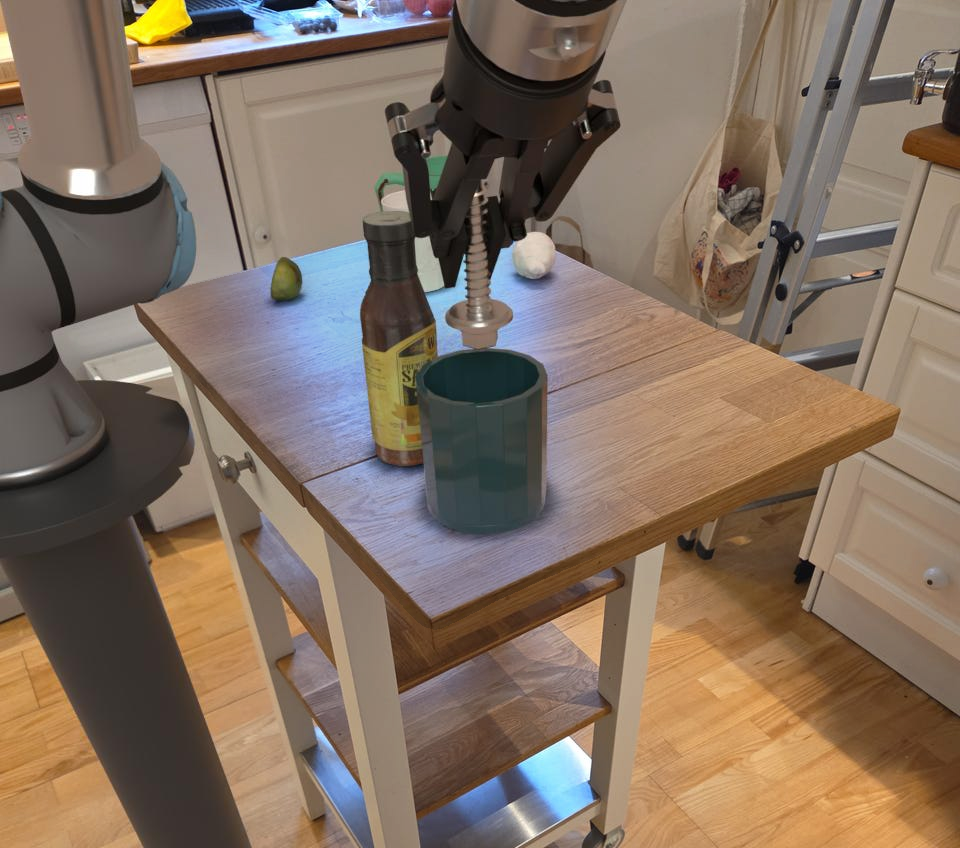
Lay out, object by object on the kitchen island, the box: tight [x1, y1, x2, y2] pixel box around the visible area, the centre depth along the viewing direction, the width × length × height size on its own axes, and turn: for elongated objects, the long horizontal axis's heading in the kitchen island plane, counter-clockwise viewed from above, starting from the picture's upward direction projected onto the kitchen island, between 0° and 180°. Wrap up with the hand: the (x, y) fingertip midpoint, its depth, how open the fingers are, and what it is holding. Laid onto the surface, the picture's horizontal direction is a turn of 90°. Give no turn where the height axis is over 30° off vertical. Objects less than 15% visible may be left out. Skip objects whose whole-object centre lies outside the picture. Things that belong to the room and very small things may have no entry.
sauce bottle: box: [359, 211, 439, 467], centre depth 73 cm, size 6×6×20 cm
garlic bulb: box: [511, 231, 557, 280], centre depth 108 cm, size 6×6×5 cm
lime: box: [269, 256, 303, 302], centre depth 107 cm, size 4×5×5 cm
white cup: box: [381, 189, 445, 293], centre depth 108 cm, size 8×8×10 cm
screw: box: [444, 179, 514, 350], centre depth 60 cm, size 13×5×5 cm
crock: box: [415, 347, 549, 535], centre depth 69 cm, size 10×10×11 cm
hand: (463, 267), depth 64 cm, fingers closed on screw, 2 cm apart
